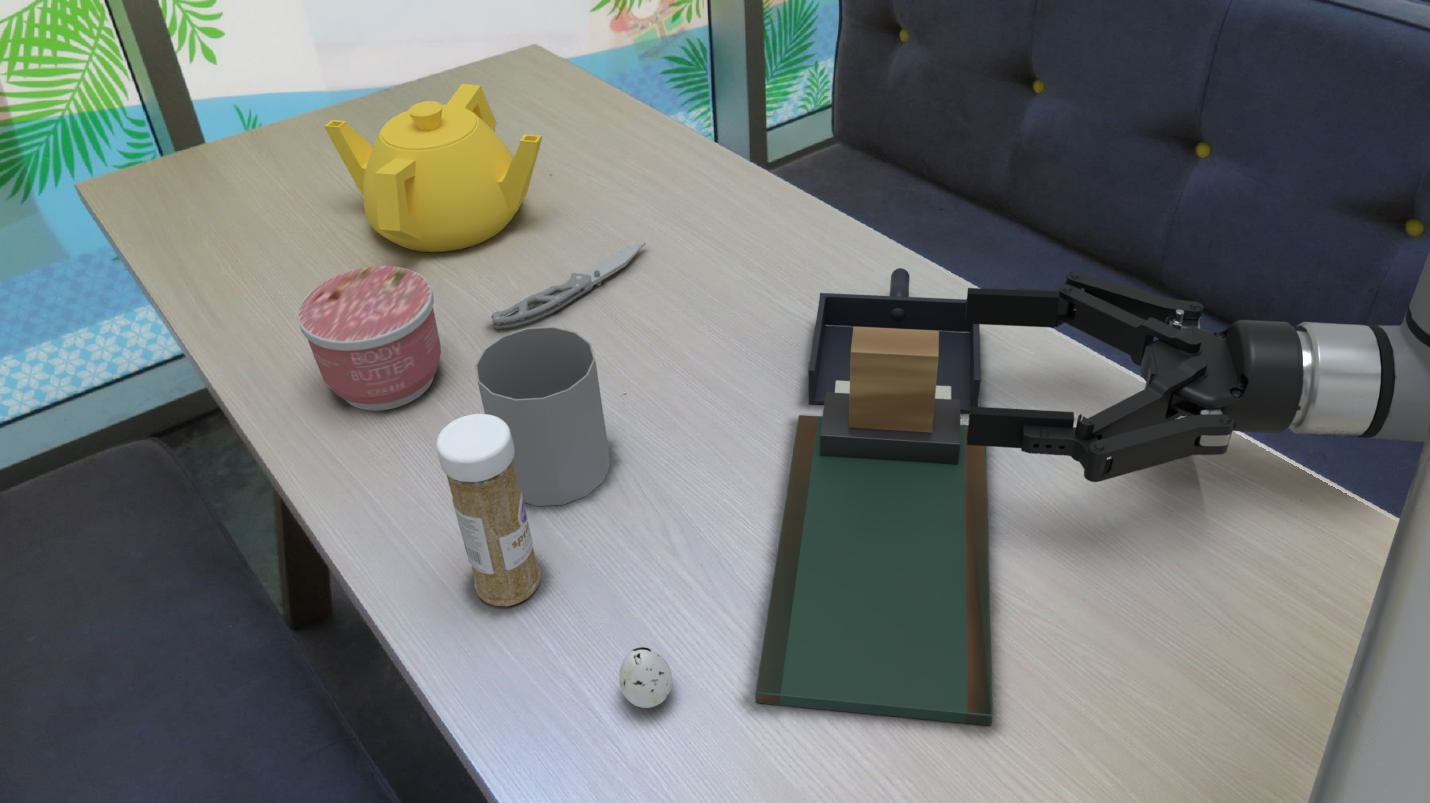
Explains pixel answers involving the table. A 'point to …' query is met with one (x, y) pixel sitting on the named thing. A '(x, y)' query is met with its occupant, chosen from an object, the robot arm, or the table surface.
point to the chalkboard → (881, 587)
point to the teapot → (438, 173)
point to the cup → (548, 411)
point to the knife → (575, 284)
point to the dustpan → (899, 313)
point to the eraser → (892, 401)
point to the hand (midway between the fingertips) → (966, 362)
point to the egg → (645, 677)
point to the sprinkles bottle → (489, 507)
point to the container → (373, 335)
